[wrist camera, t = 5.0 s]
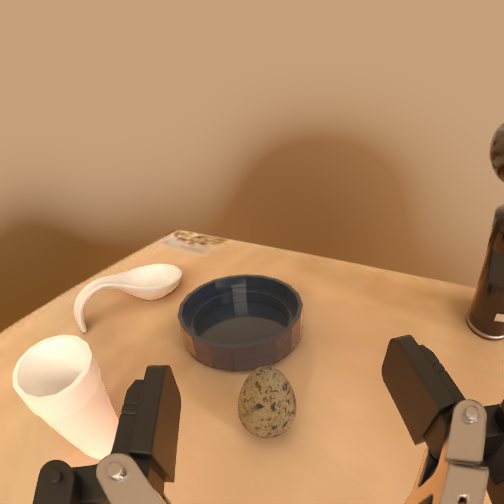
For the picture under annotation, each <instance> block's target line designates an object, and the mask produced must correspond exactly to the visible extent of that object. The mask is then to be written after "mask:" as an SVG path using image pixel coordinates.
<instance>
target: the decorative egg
mask: <svg viewBox="0 0 504 504" xmlns="http://www.w3.org/2000/svg"><path fill="white" fill-rule="evenodd" d="M238 411H239V416H240V420H241V422H242V424H243V425H244V427H245V428H246V429H247V430H248V431H249V432H250V433H252V434H254V435H256V436H258V437H263V438H272V437H276V436H279V435H281V434H282V433H284V432H285V431H286V430H287V429H288V428H289V427H290V426H291V424H292V423H293V421H294V418H295V415H296V399H295V395H294V392H293V390H292V387H291V385H290V383H289V382H288V380H287V379H286V377H285V376H284V375H283V374H282V373H281V372H280V371H279V370H277V369H276V368H273V367H270V366H262V367H259V368H257V369H256V370H254V371H253V372H252V373H251V374H250V375H249V376H248V377H247V379H246V380H245V382H244V384H243V387H242V389H241V392H240V396H239V401H238Z"/></svg>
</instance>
